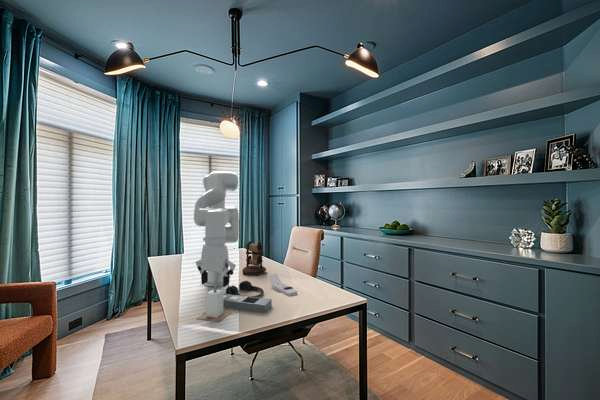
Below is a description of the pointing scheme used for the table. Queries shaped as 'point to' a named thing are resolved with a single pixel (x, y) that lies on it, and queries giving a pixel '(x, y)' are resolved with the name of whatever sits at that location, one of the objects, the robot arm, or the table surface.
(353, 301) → the table surface
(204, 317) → the coaster
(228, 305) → the power strip
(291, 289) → the light grey elongated piece
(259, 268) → the brown lantern
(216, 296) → the charger
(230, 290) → the headset
